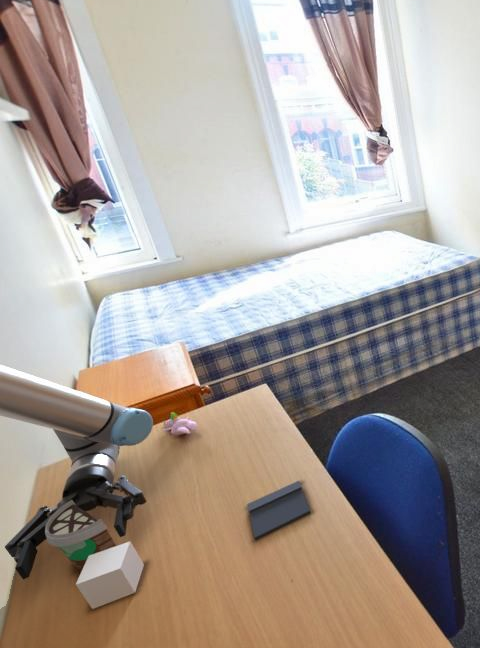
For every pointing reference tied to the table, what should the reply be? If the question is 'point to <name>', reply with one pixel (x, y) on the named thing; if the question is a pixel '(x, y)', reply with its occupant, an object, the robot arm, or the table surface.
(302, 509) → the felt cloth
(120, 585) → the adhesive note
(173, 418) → the rabbit figure
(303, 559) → the table surface
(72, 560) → the food container
